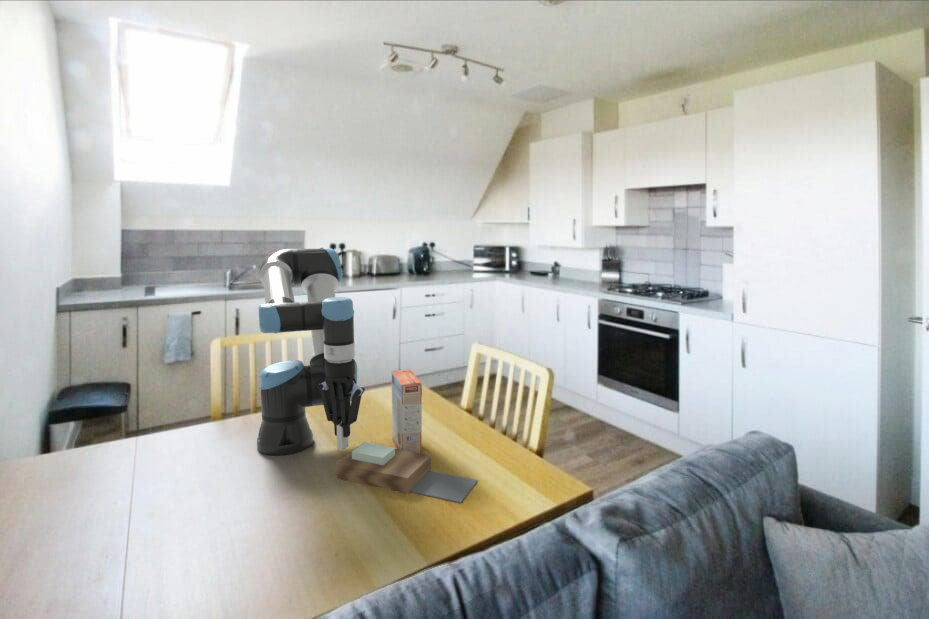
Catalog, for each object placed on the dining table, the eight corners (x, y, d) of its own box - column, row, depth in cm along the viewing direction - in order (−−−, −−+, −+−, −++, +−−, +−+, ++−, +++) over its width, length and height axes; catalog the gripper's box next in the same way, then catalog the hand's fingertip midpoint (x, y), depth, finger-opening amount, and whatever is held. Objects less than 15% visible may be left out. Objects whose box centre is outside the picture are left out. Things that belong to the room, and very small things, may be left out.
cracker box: (423, 456, 145) (422, 382, 141) (401, 459, 143) (400, 384, 139) (412, 436, 158) (411, 368, 154) (391, 439, 156) (390, 369, 152)
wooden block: (335, 478, 133) (335, 463, 132) (364, 456, 144) (363, 442, 144) (407, 494, 125) (407, 478, 125) (431, 469, 137) (431, 455, 137)
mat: (409, 492, 126) (409, 490, 126) (429, 471, 136) (429, 470, 136) (460, 503, 122) (460, 501, 121) (477, 481, 132) (477, 479, 132)
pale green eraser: (351, 459, 134) (351, 451, 134) (364, 449, 140) (364, 442, 139) (383, 465, 131) (383, 457, 131) (395, 455, 136) (395, 447, 136)
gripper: (308, 360, 133) (313, 449, 137) (353, 365, 128) (356, 458, 132) (327, 353, 140) (330, 438, 144) (370, 358, 135) (372, 446, 139)
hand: (342, 447), depth 138 cm, fingers closed
